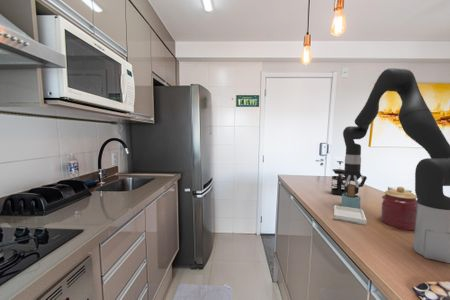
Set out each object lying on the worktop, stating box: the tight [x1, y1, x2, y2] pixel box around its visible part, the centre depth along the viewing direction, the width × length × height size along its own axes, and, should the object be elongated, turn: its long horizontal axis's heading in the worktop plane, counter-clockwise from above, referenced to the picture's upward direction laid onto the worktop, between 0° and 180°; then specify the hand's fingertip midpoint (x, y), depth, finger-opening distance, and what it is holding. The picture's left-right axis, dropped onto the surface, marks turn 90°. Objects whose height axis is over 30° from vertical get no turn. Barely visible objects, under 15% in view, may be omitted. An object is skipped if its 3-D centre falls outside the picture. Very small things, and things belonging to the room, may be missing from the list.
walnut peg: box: [347, 183, 356, 198], centre depth 113 cm, size 4×4×12 cm
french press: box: [330, 160, 351, 197], centre depth 138 cm, size 12×9×23 cm
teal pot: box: [341, 193, 361, 209], centre depth 114 cm, size 9×9×7 cm
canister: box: [380, 186, 417, 231], centre depth 92 cm, size 13×13×18 cm
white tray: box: [333, 205, 368, 226], centre depth 102 cm, size 15×13×2 cm
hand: (351, 193), depth 113 cm, fingers closed on walnut peg, 4 cm apart
